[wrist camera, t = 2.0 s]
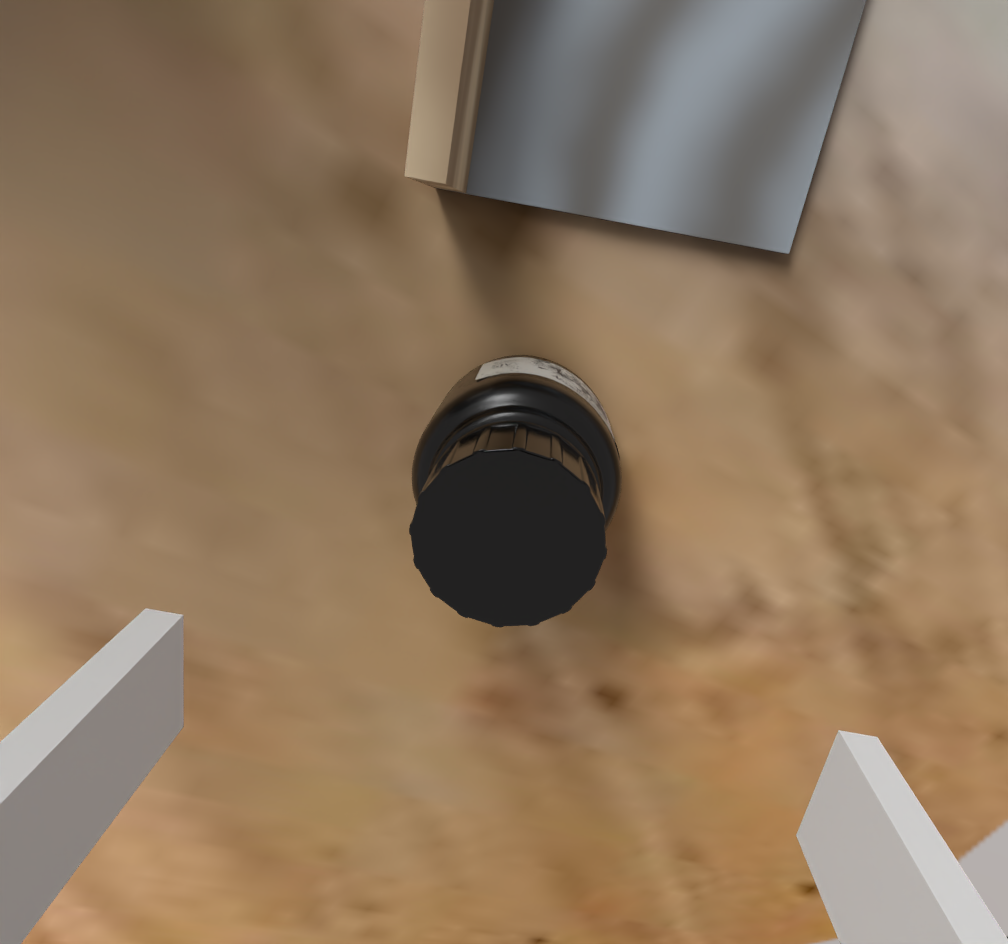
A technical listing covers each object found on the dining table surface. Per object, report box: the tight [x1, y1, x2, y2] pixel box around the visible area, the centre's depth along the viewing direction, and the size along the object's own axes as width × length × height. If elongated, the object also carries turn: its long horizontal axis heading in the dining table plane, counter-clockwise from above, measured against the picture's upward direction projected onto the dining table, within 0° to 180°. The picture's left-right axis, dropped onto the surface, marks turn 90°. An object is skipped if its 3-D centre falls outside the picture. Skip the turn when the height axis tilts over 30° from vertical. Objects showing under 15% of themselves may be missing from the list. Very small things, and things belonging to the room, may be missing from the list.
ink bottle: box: [409, 355, 622, 627], centre depth 29 cm, size 10×9×12 cm
